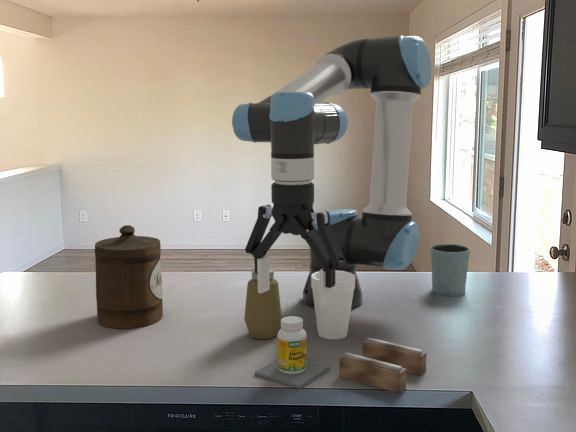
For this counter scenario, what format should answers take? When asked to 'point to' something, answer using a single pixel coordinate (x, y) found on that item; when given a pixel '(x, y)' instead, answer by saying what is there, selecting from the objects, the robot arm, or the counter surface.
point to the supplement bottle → (292, 346)
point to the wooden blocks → (383, 364)
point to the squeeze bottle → (262, 308)
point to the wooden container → (128, 280)
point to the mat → (292, 380)
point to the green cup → (449, 268)
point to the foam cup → (334, 305)
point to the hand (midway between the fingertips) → (293, 297)
